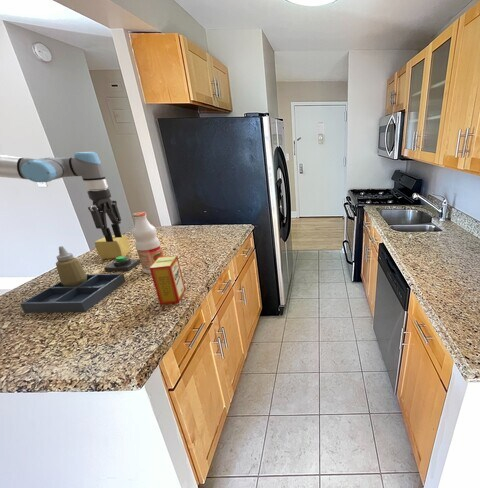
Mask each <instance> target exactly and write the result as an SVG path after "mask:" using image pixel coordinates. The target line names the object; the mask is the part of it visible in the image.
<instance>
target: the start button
mask: <svg viewBox="0 0 480 488" xmlns="http://www.w3.org/2000/svg"><path fill="white" fill-rule="evenodd" d="M125 257H126V255H124V256H119V257H117V258H115V259H116V260H117V262H121V261H124V260H126V258H125Z"/></svg>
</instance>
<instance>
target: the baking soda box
mask: <svg viewBox="0 0 480 488" xmlns="http://www.w3.org/2000/svg"><path fill="white" fill-rule="evenodd" d="M150 271H151V274H150V275H151V277H152V282H153V285H154V288H155V292H156V296H157V298H158V303H159V306H163V305H171V304H179V303H180V301H181V299H182V298H183V296H184V294H185V292H186V286H185V285H186V284H185V281H184V277H183V273H182V269H181V264H180V260H179V256H178V255H168V256H167V255H166V256H164V257H159V258H158V259H157V260H156V261H155V263H154V264H153V265H152V266H151V267H150Z"/></svg>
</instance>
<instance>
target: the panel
mask: <svg viewBox="0 0 480 488" xmlns="http://www.w3.org/2000/svg"><path fill="white" fill-rule="evenodd" d="M125 258H126V260H124V261H121V262H117V260H116V258H114V260H113V261H112V262H111V263H109V264H107V265H105V266H104V267H103V270H104V272H105V273H107V272H108V273H109V272H110V273H112V272H117V273H119V272H130V271H132V270H133V269H134V268H136V267H137V266H139V265H141V262H140V259H139V258H130V257H128V256H125Z"/></svg>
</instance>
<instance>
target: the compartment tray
mask: <svg viewBox="0 0 480 488" xmlns="http://www.w3.org/2000/svg"><path fill="white" fill-rule="evenodd" d="M86 275H87V281H85V282H84V283H82V284H80V285H79V286H77V287H65V286H64V285H63V284H61V281H58V282H56V283H54V284H53V285H51V286H49V287H47V288H46V289H44V290H42V291H40V292H38V293H36V294H35V295H33V296H31V297H29V298H27V299H26V300H24V301H22V302H20V303H19V305H20V307H21V310H22V311H23V313H24V314H35V313H36V314H37V313H38V314H40V313H43V314H44V313H85V312H87V311H88V310H90V309H91V308H93V307H94V306H96V304H98V303H99V302H101V301H102V300H103V299H105V298H106V297H108V295H109V296H110V294H111V293H113V292H114V291H116V290H117V289H118V288H120V287H121V286H122V285H123V284H125V283H126V282H127V280H126V278H125V274H124V273H86Z"/></svg>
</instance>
